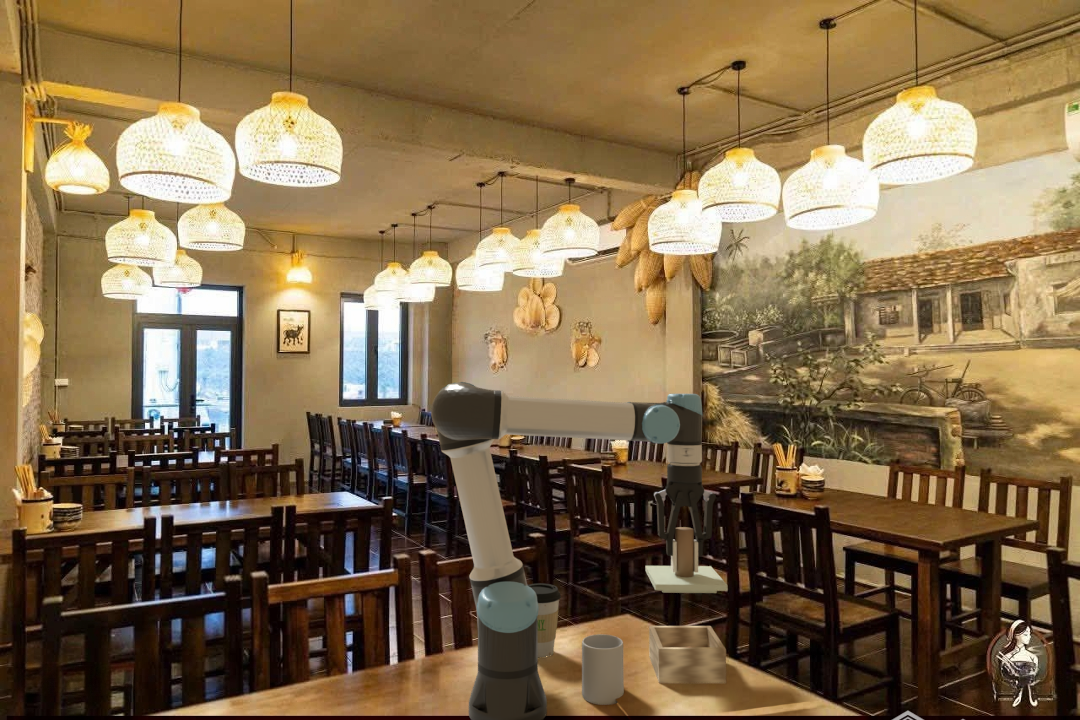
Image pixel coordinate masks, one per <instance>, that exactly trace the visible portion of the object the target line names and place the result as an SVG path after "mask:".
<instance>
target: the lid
mask: <svg viewBox="0 0 1080 720" xmlns="http://www.w3.org/2000/svg"><path fill="white" fill-rule="evenodd" d="M694 536H695V532H694V527H693V528H691V527H686V526H683V527H682V526H681V527H680V526H679V527H676V528H675V533H674V538H675V541H676V542H677V572H673V571H672V570H671V565H645V573H646V575H647V576H648V578H649V581H650V582H651V584H652V587H653V588H654V591H661V592H662V593H663V594H664V593H671V594H672V593H673V594H674V593H677V594H678V593H679V594H683V593H684V594H685V593H686V594H687V593H688V594H694V593H695V594H717V592H720V591H721V592H728V584H727V582H725V581H724V579H723V578H722V577H721V576H720V575H719V573H717V571H716V570H715V569H714V568H713V567H712V565H709V566H708V565H703V566H702V565H698V572H694V540H695V539H694V538H695V537H694Z"/></svg>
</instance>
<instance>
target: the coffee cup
mask: <svg viewBox="0 0 1080 720" xmlns="http://www.w3.org/2000/svg"><path fill="white" fill-rule="evenodd" d="M527 586H529V587H531V588H532V589H533V590H534V591H535V593H536V596H537V602H538V606H539V611H538V616H537V620H538V657H545V658H547V657H546V656H549V657H551V656H553V654H554V650H555V640H556V637H557V628H558V618H559V604H560V603H559V602H560V599H561V598H562V596H561V592H560V591H559V588H558V586H556V585H553V584H550V583H542V582H541V583H530V584H527ZM550 655H551V656H550Z"/></svg>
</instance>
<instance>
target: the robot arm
mask: <svg viewBox="0 0 1080 720" xmlns="http://www.w3.org/2000/svg"><path fill="white" fill-rule="evenodd" d="M666 398H667V399H666V401H662V402H644V401H643V402H642V401H641V402H638V401H637V402H635V401H634V402H633V401H632V402H631V401H628V402H618V401H617V402H615V401H600V400H598V401H597V400H581V399H565V398H564V399H563V398H548V397H547V398H546V397H529V396H513V395H507V394H506V392H505V391H503V390H497V389H488V388H482V387H478V386H476V385H474V384H473V383H469V382H466V381H465V382H464V381H460V382H453V383H449V384H447V385H445V386H444V387H442V388H441V389H440V390H439V392H438V393H437V394H436V395H435V397H434V398H433V401H432V403H431V407H430V408H431V410H430V411H431V413H430V415H431V419H432V423H433V425H434V427H435V428H436V433H437V438H438V442H439V445H440V450H441V453H443V454H445V455H447V456H448V457H449V458H450V462H451V467H452V471H453V476H454V481H455V484H456V489H457V493H458V494H457V495H458V499H459V503H460V507H461V511H462V516H463V517H462V518H463V520H464V525H465V530H466V535H467V539H468V544H469V548H470V553H471V557H472V561H473V568H472V570H471V572H470V574H469V581H470V586H471V590H472V595H473V600H474V605H475V610H476V619H477V620H476V622H477V623H476V624H477V674H476V677H475V680H474V683H473V686H472V690H471V693H470V696H469V699H468V716H469V718H470V720H544V719H545V717H546V716H547V713H548V712H547V711H548V710H547V709H548V705H547V704H548V703H547V702H548V699H547V696H546V693H545V690H544V686H543V684H542V680H541V677H540V674H539V670H538V667H539V665H538V662H539V661H538V659H539V658H538V620H537V616H538V611H539V606H538V602H537V596H536V593H535V591H534V590H533V589H532V588H531V587H529V586H527V585H528V582H527V579H526V575H525V574H526V573H525V569H524V564H523V562H522V561H521V560H520V559H519V558H517V557H515V556H514V553H513V552H514V551H513V547H512V543H511V538H510V534H509V530H508V525H507V520H506V516H505V512H504V507H503V503H502V498H501V497H502V496H501V494H500V488H499V484H498V480H497V476H496V472H495V467H494V462H493V458H492V453H491V446H492V444H493V443H494V441H495V440H501V439H503V437H505V436H506V435H508V436H509V435H512V436H513V435H514V436H529V437H530V436H531V437H553V438H572V439H573V438H576V439H594V440H596V439H597V440H615V441H617V440H618V441H632V442H647V443H649V442H651V443H653V444H666V443H667V447H666V448H667V449H666V450H667V452H666V453H667V454H666V455H667V456H666V457H667V458H666V460H667V462H669V463H668V464H667V467H666V469H667V470H666V475H667V476H666V485H665V487H664V489H663V490H660V491H654V492H653V497H654V499H655V502H656V515H657V516H656V518H657V519H656V520H657V535H658V537H659V538H660V539H663V540H665V542H666V543H665V545H666V547H665V549H666V550H665V551H666V555H667V556H668V557H670V566H671V570H672V571H673V572H677V542H676V541H675V539H674V538H675V528H677V527H676V526H677V523H678V518H679V517H678V516H679V514H680V510H681V507H687V508H689V511H690V516H691V521H692V525H693V526H692V527H693V529H694V536H695V537H694V538H695V539H694V572H698V566H699V557H702V556H703V554H704V549H703V548H704V547H703V546H704V544H703V543H704V541H705V540H710V539H711V538H712V534H713V533H712V532H713V531H712V530H713V509H714V508H713V507H714V503H715V501H716V498H717V496H716V494H715V493H714V492H712V491H707V490H705V487H703V466H702V465H701V463H702V462H703V452H702V451H703V449H702V448H703V447H702V445H703V444H702V443H703V442H702V439H703V438H702V437H703V434H702V433H703V432H702V431H703V416H704V415H703V414H704V413H703V406H702V405H703V403H702V398H701V396H700V395H699V394H697V393H669V394H668V395H667V397H666ZM666 496H667V497H668V498H669V499H670V501H671V509H670V510H671V511H670V515H669V519H668V525H667V528H666V524H665V520H666V519H665V504H664V501H665V500H666ZM702 496H703V500H704V512H703V513H704V514H703V515H704V517H703V531H702V526H701V525H702V524H701V521H700V517H699V511H698V510H699V509H698V504H697V503H698V502H699V501H700V499H701V498H702ZM665 528H666V529H665Z"/></svg>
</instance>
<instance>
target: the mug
mask: <svg viewBox="0 0 1080 720" xmlns="http://www.w3.org/2000/svg"><path fill="white" fill-rule="evenodd" d="M624 685H625V684H624V642H623V640H622V638H619V637H618V636H615V635H611V634H605V633H604V634H602V633H601V634H599V633H597V634H591V635H587V636H586V637H584V638H583V639H582V642H581V696H582V698H583V699H584V700H585V701H587V702H588V703H591V704H594V705H599V706H606V705H607V706H610V705H615V704H617V703H619V702H618V701H617V699H619V698H621V697H623V695H624V694H625V693H624V692H625V686H624Z"/></svg>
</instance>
